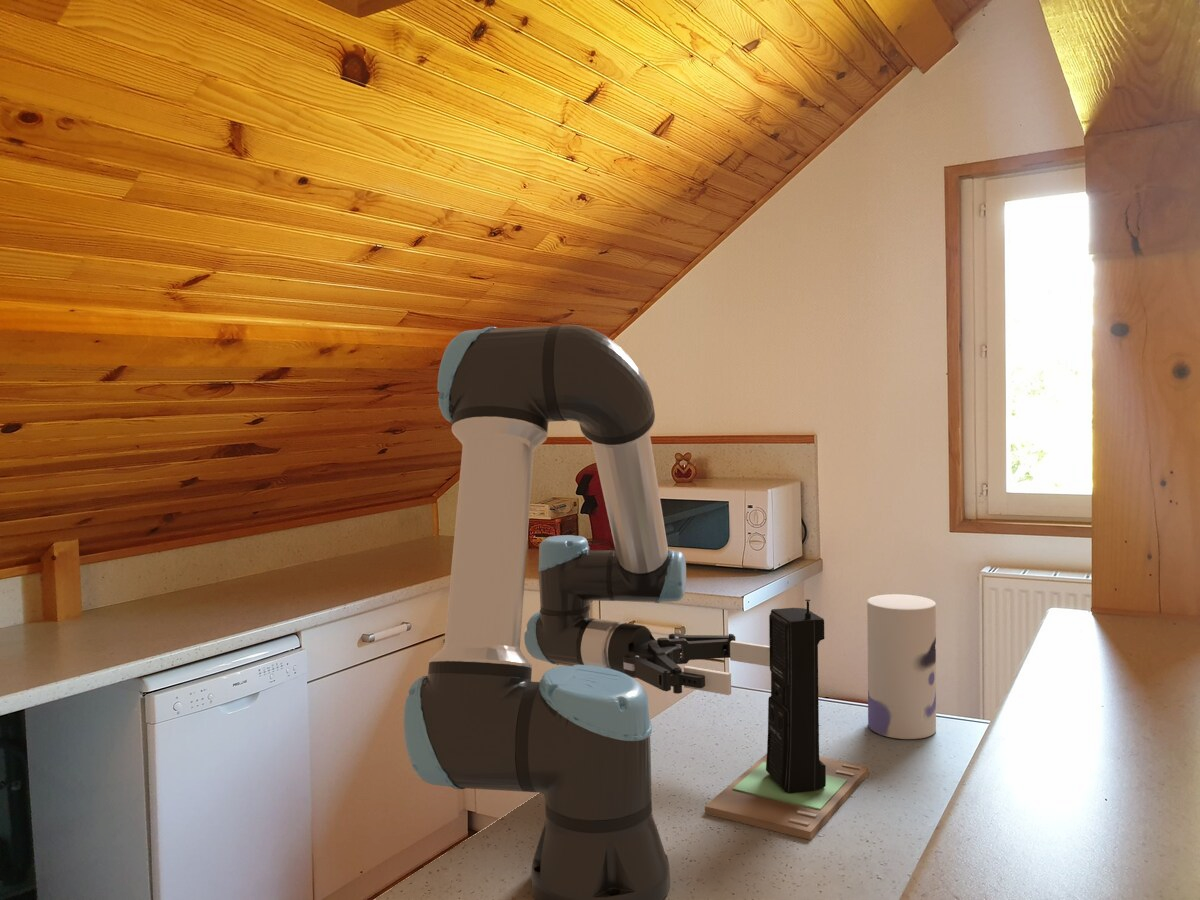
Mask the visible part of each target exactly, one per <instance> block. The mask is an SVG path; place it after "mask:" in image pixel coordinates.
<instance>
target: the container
mask: <svg viewBox="0 0 1200 900" xmlns="http://www.w3.org/2000/svg"><path fill="white" fill-rule="evenodd" d="M866 609H867V615H866V616H867V620H866V621H867V623H866V625H867V726H868V728H869V729H870V730H871V731H873V732H874V733H876V734H879V735H880V736H883V737H884V736H885V737H888V738H892V739H899V740H900V739H901V740H918V739H925V738H929V737H930V736H932V735H934V734H935V733H936V732H937V666H936V665H937V648H936V643H937V631H936V630H937V628H936V627H937V624H936V623H937V614H936V613H937V603H936V602H935V601H934V599H931V598H928V597H925V596H921V595H920V596H919V595H914V594H903V593H900V594H899V593H897V594H896V593H895V594H892V593H891V594H889V593H888V594H879V595H874V596H872V597H869V598H868V599H867V603H866Z"/></svg>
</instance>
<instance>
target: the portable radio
mask: <svg viewBox="0 0 1200 900" xmlns="http://www.w3.org/2000/svg"><path fill="white" fill-rule="evenodd" d="M804 601H805V602H806V608H803V607H786V608H785V607H784V608H773V609H771V611H770V614H769V616H768V618H769V620H768V621H769V622H768V623H769V625H768V626H769V629H768V631H769V633H768V635H769V646H770V666H769V671H770V687H771V688H770V696H769V697H768V705H767V706H768V707H767V711H768V712H767V744H766V745H767V746H766V747H767V748H766V751H767V752H766V754H767V760H766V771H767V772H768V773H769V774H770V775H771V777H772V778H773V779H774V780H775V781H776V782H777V783H778V784H779V785H780V787H781V788H782V789H783V790H784V791H785V792H787V793H796V792H805V791H813V790H817V789H820V788H823V787H825V786H826V765H825V764H823V763H822V762H821V761H820V760H819V757H820V732H819V731H820V719H819V717H820V715H819V714H820V713H819V709H820V708H819V702H820V701H819V644H820V642H821V641H823V640H825V619H824V618H823V617H821V616H819V615H817V614H815V612H812V611H811V610H810V602H811V599H808V598H807V599H804Z"/></svg>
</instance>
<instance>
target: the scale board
mask: <svg viewBox="0 0 1200 900" xmlns="http://www.w3.org/2000/svg"><path fill="white" fill-rule="evenodd" d="M766 760H767V753H766V754H765V755H763V756H762V757H761V758H760V759H758V760H757V761H756V762H755V763H754V764H753V765H751V766H750V767H749V768H747V770H746V771H744V772H743V773H742V774H741V775H739V776H738V777H737V778H735V780H734V781H732V782H731V783H730V784H729V785H727V787H725V788H724V789H722V791H721V792H720V793H718V794H717V795H715V797H714V798H712V799H711V800H710V801H709V802H707V803H706V804H705V806H704V814H706V815H707V816H708V815H709V816H712V817H713V816H714V817H717V818H720V819H724V820H727V821H728V820H729V821H733V822H737V823H741V824H744V825H749V826H752V827H757V828H760V829H764V830H769V831H773V832H776V833H781V834H785V835H789V836H792V837H797V838H799V839H800V838H801V839H805V840H809V841H811V840H812V839H813V838H814V837H815V836H816V835H817V833H819V831H821V829H822V828H823V827H824V826H825V825H826V823H827V822H828V821H829V820H830V819H831V818H832V817H833V815H834V814H835V813H836V812H837V811H838V809H839V808H840V807H841V806H842V805H843V804H844V803H845V801H846V800H847V799H848V798H849V797H850V796H851V795H852V794H853V793H854V792H855V791H856V789H857V788H858V787H859V786H860V785H861V784H862V782H864V780H865V779H866V778H867V777H868V776H869V775H870V766H868V765H864V764H858V763H854V762H848V761H844V760H840V759H833V758H829V757H824V756H819V760H820V761H821V762H822V763H823V764H825V765H826V786H825V787H823V788H820V789H817V790H813V791H805V792H796V793H787V792H785V791H784V790H783V789H782V788H781V787H780V785H779V784H778V783H777V782H776V781H775V780H774V779H773V778H772V777H771V775H770V774H769V773H768V772H767V771H766ZM866 776H867V777H866ZM860 783H861V784H860Z"/></svg>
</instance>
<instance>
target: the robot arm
mask: <svg viewBox="0 0 1200 900" xmlns="http://www.w3.org/2000/svg"><path fill="white" fill-rule="evenodd" d="M437 392H439V393H438V394H439V395H438V399H437V401H438V407H439V410H440V412H441V415H442V417H443V418H444V420H445V421H447V422H449V423H451V433H452V434H453V435H454V437H455V438H456V439H457V440H458V441H459V442H460V443H461V445H462V449H461V461H460V471H459V483H458V485H459V486H458V495H457V503H456V515H455V524H454V525H455V528H454V537H453V547H452V559H451V569H450V570H451V571H450V581H449V590H448V592H449V593H448V603H447V614H446V623H445V635H444V636H445V637H444V644H443V646H442V647H441V649H440V650H438V651H437V652H436V653H435V654H434V655H433V656H432V657H430V659H429V662H428V672H427V675H423V676H421V677H418V678H417V679H415V680H414V681H413V682H412V683H411V685H410V687H409V688H408V695H407V696H406V698H405V703H404V710H403V736H404V742H405V743H404V744H405V748H406V753H407V757H408V759H409V761H410V764H411V766H412V769H413V771H414V772H415V774H416V775H417V777H419V779H420V780H422V782H425V783H427V784H429V785H432V786H439V787H440V786H441V787H447V788H448V787H450V788H453V789H455V790H464V789H472V790H473V789H475V790H489V791H490V790H491V791H506V792H507V791H509V792H525V793H540V794H543V796H544V803H545V805H544V807H545V818H544V822H543V825H542V828H541V829H542V830H541V833H540V835H539V840H538V843H537V846H536V849H535V853H534V857H533V860H532V864H531V870H530V871H531V872H530V873H531V892H532V895H533V897H534V899H535V900H664V899H665V898H666V896H667V895H668V893H669V890H670V888H671V887H670V886H671V878H670V877H671V874H670V872H671V870H670V869H671V868H670V862H669V858H668V855H667V854H666V852H665V851H666V850H665V848H664V845H663V841H662V839H661V836H660V833H659V829H658V827H657V824H656V822H655V819H654V816H653V807H652V806H653V802H652V801H653V800H652V799H653V798H652V794H653V793H652V791H653V790H652V759H651V757H652V756H651V754H652V752H651V749H652V747H651V734H652V732H653V731H652V730H653V726H652V722H651V717H650V708H649V697H648V694H647V692H646V690H645V688H644V687H643V685H642V684H641V683H640V682H639V681H637V680H636V679H639V680H641V682H645V683H647V684H649V685H650V686H652V687H654V688H656V689H658V690H661V691H663V692H669V691H671V690H673V692H672V693H673V694H682V693H683V688H685V689H691V690H697V691H702V692H707V693H713V694H718V695H719V694H720V695H725V696H730V695H731V694H732V673H731V672H727V671H718V670H714V669H707V668H702V667H696V666H690V665H687V664H688V663H689V661H697V660H711V659H728V658H729V661H733V662H739V663H744V664H745V663H746V664H751V665H758V666H765V667H770V645H764V644H758V643H751V642H744V641H737V640H736V636H735V634H734V633H733V634H732V633H728V635H723V634H720V635H719V634H718V635H712V634H709V635H708V634H707V635H705V634H703V635H702V634H701V635H699V634H698V635H697V634H695V635H694V634H678V633H677V634H676V633H670V634H668V637H658V638H657V639H655V637H654V636H653V634H652V632H651V631H650V629H649V628H648V627H647V626H646V625H641V624H634V623H627V622H624V623H623V622H621V621H615V620H610V619H609V620H608V619H600V618H593V617H590V610H591V604H590V602H592V601H595V602H596V601H598V602H599V601H601V602H602V601H603V602H609V601H610V602H611V601H612V602H637V603H655V604H659V603H667V602H669V603H670V602H671V603H674V602H679V601H682V599H684V597H685V593H686V587H687V562H686V557H685V555H684V553H683V552H682V551H678V550H677V551H676V550H673V549H669V547H668V539H667V535H666V528H665V521H664V515H663V509H662V508H663V507H662V502H661V497H660V489H659V482H658V477H657V476H658V475H657V470H656V465H655V457H654V452H653V444H652V440H651V439H652V438H651V433H650V431H651V429H652V428H653V427H654V424H655V421H656V413H655V405H654V400H653V396H652V393H651V392H652V391H651V389H650V387H649V385H648V383H647V381H646V379H645V377H644V375H643V373H642V371H641V370H640V368H639V367H638V365H637V364H636V363H635V362H634V360H633V359H632V358H631V356H630V355H629V354H628V353H627V351H625V349H623V348H622V347H621V346H620V345H619V344H617V343H616V342H615V341H614V340H612V339H611V338H610V337H608V336H607V335H605V334H603V333H601V332H600V331H598V330H595V329H593V328H591V327H587V326H583V325H580V324H579V325H578V324H562V325H557V326H556V325H555V326H554V325H552V326H551V325H550V326H523V327H522V326H521V327H520V326H519V327H516V326H515V327H496V326H488V327H483V328H482V329H471V330H464V331H461V332H459V333H458V334H457V335H456V336H455V337H454V338H452V339H451V340H450V342H449V343H448V345H447V346H446V347H445V350H444V353H443V355H442V358H441V362H440V364H439V369H438V376H437ZM567 421H572V422H576V423H579V427H580V431H581V434H582V435H583V436H584V438H586V440H588V441H590V442H591V444H592V450H593V454H594V459H595V464H596V468H597V472H598V476H599V481H600V486H601V491H602V495H603V499H604V503H605V504H604V505H605V509H606V513H607V518H608V521H609V527H610V530H611V532H610V533H611V536H612V541H613V544H614V550H611V549H610V550H607V549H606V550H604V549H590V546H589V542H588V540H587V538H586V537H584V536H582V535H573V534H571V535H570V534H566V535H553V536H549V537H546V538H544V539H543V540H542V541H541V542H540V543H539V546H538V547H539V549H538V551H539V552H538V567H537V571H538V583H539V602H540V607H539V608H540V610H539V611H537V612H535V613H534V614H533V615H531V617H530V618H529V619H528V621H527V623H526V631H525V632H524V634H523V635H524V637H523V638H524V640H523V641H524V645H525V648H526V649H525V650H526V651H527V653H528V654H529V655H530V657H532V658H534V659H536V660H540V661H543V662H547V663H550V664H551V665H556V667H552V668H550V669H548V670H546V671H545V672H544V673H543V675H542V676H541V679H540V680H539V681H532V670H533V666H532V664H531V662H529V660H528V659H527V658H526V657H525V655H524V654H523V653H522V651H521V638H522V622H523V607H524V596H525V594H524V592H525V581H526V580H525V578H526V568H527V565H526V563H527V552H528V537H529V526H530V525H529V521H530V509H531V493H532V483H533V481H532V480H533V479H532V478H533V467H534V466H533V464H534V452H535V451H536V449H537V448H539V447H540V446H541V445H542V444H543V443H545V442H546V441H547V439H548V431H549V430H548V429H549V423H550V422H552V423H553V422H567ZM679 665H685V666H683V668H682V667H680V666H679Z"/></svg>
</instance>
